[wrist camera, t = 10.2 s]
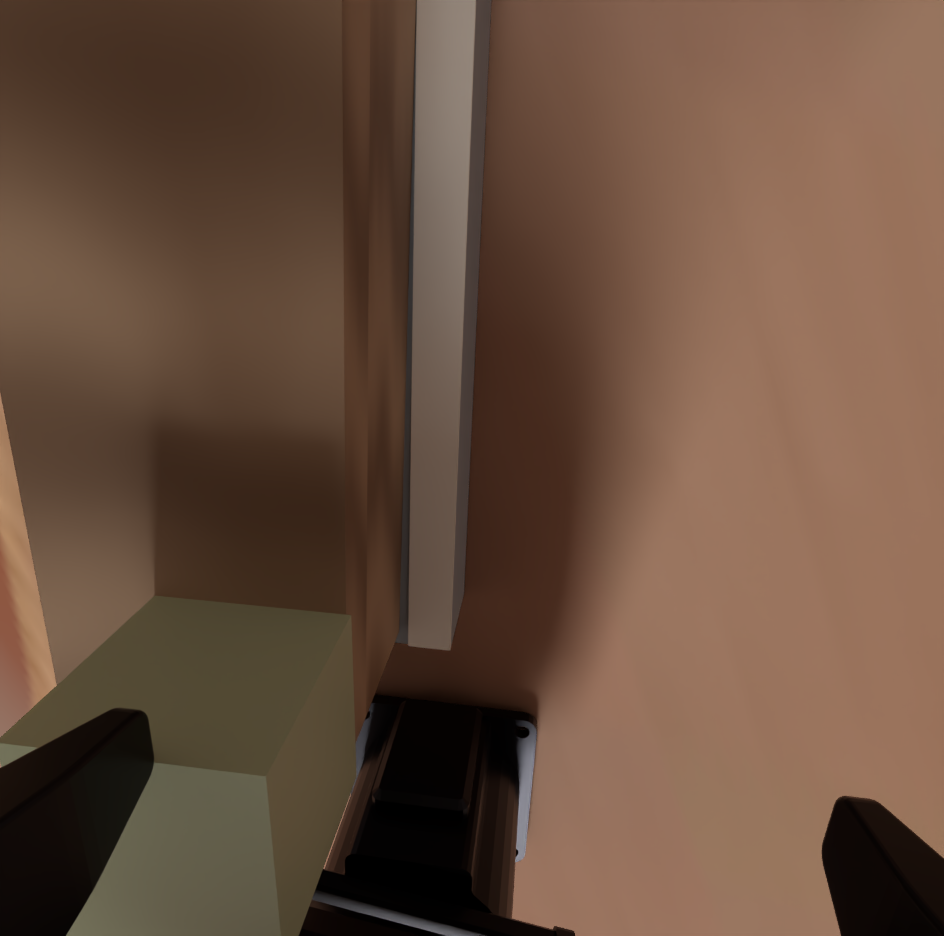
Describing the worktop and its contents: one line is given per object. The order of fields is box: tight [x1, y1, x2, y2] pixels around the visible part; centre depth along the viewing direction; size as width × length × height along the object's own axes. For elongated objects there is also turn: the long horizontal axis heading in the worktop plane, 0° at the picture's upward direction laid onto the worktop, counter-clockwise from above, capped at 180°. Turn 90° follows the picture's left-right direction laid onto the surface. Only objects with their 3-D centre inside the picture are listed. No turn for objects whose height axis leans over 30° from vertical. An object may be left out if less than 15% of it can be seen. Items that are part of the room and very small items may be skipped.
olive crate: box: [0, 596, 357, 936], centre depth 12 cm, size 4×4×4 cm
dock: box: [395, 0, 492, 651], centre depth 16 cm, size 25×9×3 cm, turn 178°
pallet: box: [0, 0, 416, 744], centre depth 12 cm, size 24×6×5 cm, turn 177°
